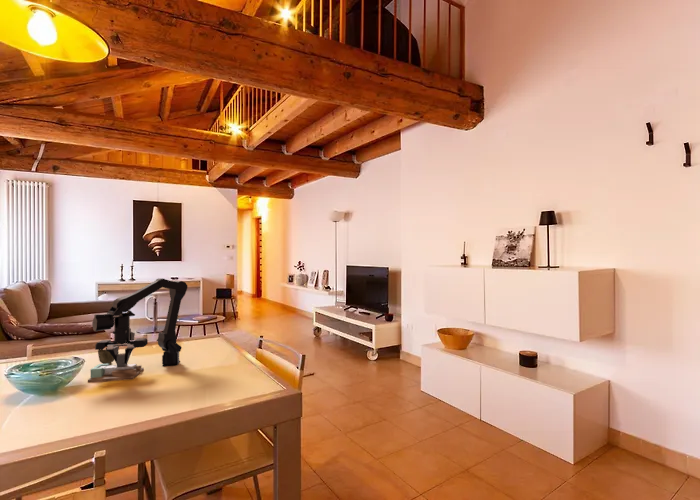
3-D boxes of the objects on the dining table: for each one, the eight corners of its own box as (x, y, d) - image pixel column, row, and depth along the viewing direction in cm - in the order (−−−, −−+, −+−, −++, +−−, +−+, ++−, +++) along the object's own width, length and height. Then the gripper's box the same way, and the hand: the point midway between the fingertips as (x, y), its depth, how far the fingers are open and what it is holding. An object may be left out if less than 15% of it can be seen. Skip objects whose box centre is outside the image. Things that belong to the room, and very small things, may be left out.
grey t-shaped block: (136, 370, 163) (136, 352, 163) (133, 373, 159) (133, 354, 159) (101, 372, 161) (101, 354, 161) (96, 375, 157) (96, 356, 157)
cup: (101, 369, 169) (101, 351, 169) (95, 366, 174) (95, 349, 174) (119, 365, 175) (119, 348, 175) (112, 362, 180) (112, 346, 180)
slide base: (143, 369, 168) (143, 363, 168) (132, 379, 155) (132, 372, 155) (102, 372, 165) (102, 365, 165) (87, 382, 152) (87, 375, 152)
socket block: (109, 371, 163) (109, 363, 163) (101, 377, 155) (101, 368, 155) (99, 372, 162) (99, 364, 162) (90, 377, 155) (90, 369, 155)
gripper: (151, 323, 170) (151, 357, 170) (106, 325, 167) (106, 360, 166) (143, 327, 159) (143, 364, 159) (94, 330, 156) (94, 367, 156)
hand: (122, 363), depth 160 cm, fingers closed on grey t-shaped block, 3 cm apart
